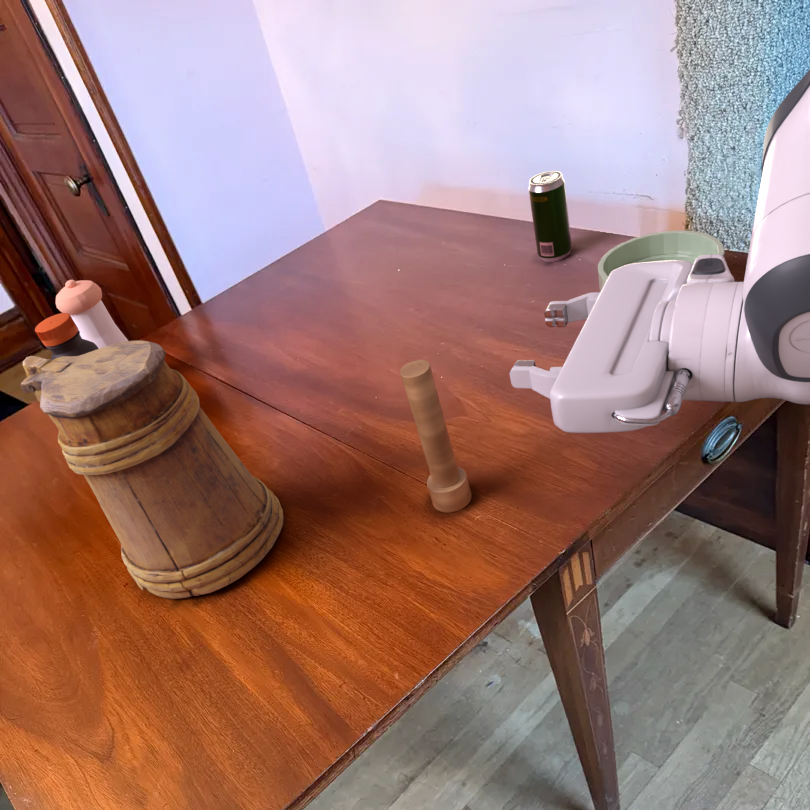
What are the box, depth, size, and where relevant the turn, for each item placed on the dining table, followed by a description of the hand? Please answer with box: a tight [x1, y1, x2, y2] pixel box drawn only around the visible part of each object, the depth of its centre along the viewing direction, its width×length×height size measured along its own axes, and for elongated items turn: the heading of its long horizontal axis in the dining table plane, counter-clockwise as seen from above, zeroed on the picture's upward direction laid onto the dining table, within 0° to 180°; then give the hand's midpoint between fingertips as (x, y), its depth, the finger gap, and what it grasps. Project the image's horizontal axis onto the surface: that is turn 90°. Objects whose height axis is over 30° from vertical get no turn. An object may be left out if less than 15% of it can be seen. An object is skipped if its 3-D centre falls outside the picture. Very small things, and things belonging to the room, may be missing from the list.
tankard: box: [20, 340, 285, 600], centre depth 81 cm, size 18×24×25 cm
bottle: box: [34, 312, 99, 360], centre depth 105 cm, size 7×7×20 cm
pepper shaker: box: [55, 279, 129, 349], centre depth 118 cm, size 7×7×19 cm
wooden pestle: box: [399, 359, 473, 514], centre depth 77 cm, size 4×4×17 cm
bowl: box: [597, 229, 725, 292], centre depth 99 cm, size 15×15×6 cm
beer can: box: [527, 170, 573, 263], centre depth 115 cm, size 5×5×12 cm
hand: (530, 342), depth 64 cm, fingers open, 8 cm apart
